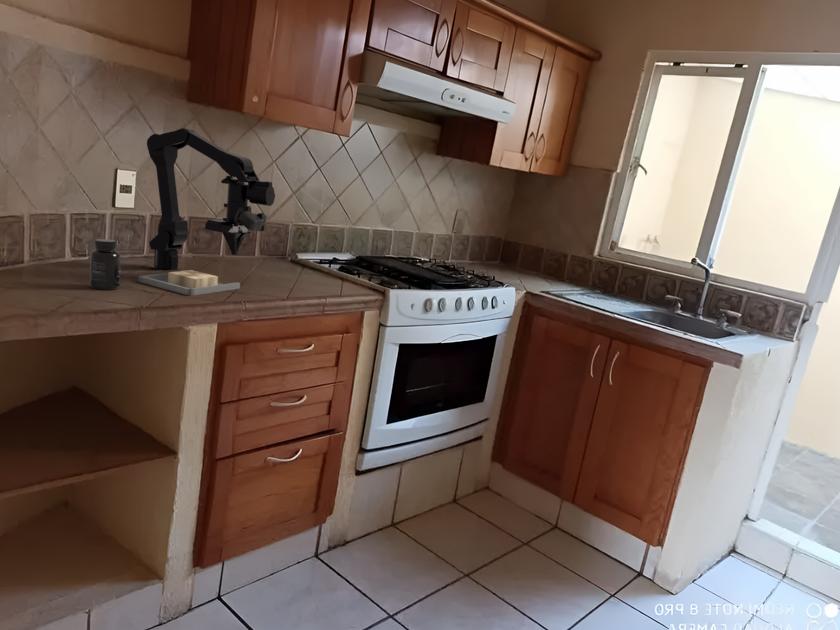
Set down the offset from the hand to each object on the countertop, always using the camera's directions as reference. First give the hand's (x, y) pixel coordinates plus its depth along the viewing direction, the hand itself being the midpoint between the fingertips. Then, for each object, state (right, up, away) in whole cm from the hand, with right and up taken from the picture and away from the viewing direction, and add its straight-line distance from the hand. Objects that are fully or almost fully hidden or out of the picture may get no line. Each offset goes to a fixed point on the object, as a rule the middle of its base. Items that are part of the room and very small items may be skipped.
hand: (234, 254), depth 182 cm
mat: (-8, -10, -12) cm, 18 cm away
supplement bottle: (-25, -11, -25) cm, 37 cm away
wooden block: (-6, -7, -9) cm, 13 cm away
